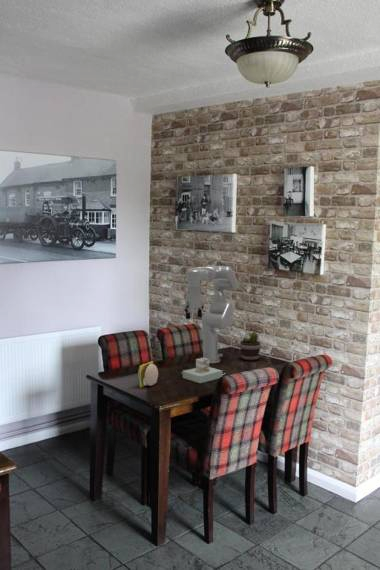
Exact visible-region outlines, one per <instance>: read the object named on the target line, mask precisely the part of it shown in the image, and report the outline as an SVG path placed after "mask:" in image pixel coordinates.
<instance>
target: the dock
mask: <svg viewBox="0 0 380 570" xmlns="http://www.w3.org/2000/svg"><path fill="white" fill-rule="evenodd" d="M223 372H224V371H223V370H221V369H217V368H215V367H211V366H209V371H207V372H203V373H202V372H198V371H196V367H194V368H189V369H185V370H182V379H185V380H188V381H191V382H194V383H198V384H202V383H203V384H204V383H207V382H211V381H214V380H217V379H221V378H220V377H222V376H223ZM223 377H224V376H223ZM223 377H222V378H223Z"/></svg>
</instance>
